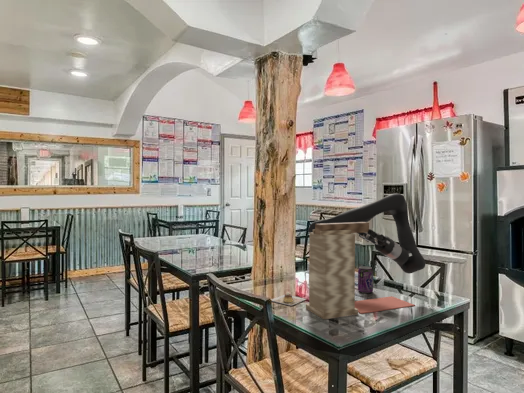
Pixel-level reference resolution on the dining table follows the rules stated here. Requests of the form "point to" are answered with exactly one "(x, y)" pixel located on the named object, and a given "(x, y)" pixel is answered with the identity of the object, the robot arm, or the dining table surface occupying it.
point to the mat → (380, 304)
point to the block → (343, 227)
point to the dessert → (288, 298)
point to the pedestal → (332, 274)
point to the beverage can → (365, 279)
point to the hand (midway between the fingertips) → (362, 230)
